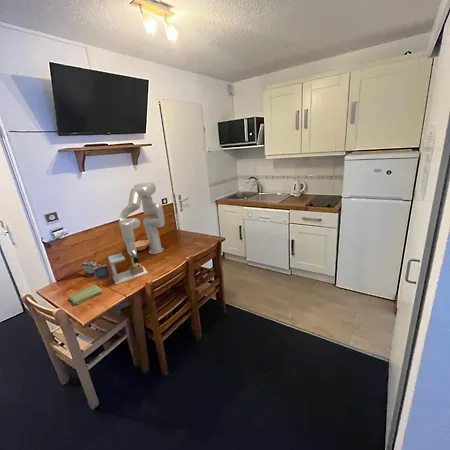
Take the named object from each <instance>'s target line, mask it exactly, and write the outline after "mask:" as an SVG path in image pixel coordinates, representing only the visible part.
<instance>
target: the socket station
mask: <svg viewBox="0 0 450 450" xmlns="http://www.w3.org/2000/svg"><path fill="white" fill-rule="evenodd" d="M107 259H108V261H109V265H110V269H111V272H112V273H111V274H112V279H113V282H114V284H115V285H120V284H122V283H125V282H128V281H130V280H134V279H136V277H137V278H140V277H143V276H145V275H148V274H149V273H148V271H147V270H146V268H145V267H144V265H142V264H141V262H138V268H135V269H133V265H130V266H128V267H129V268H128V270H126V271H125V270H124V271H122V272H120V273H119V272H117V269H116V265H115V264H116V263H121V262H123V261H126V258H125V256H124V255H123V253H122V252H119V253H117V254H112V255H109V256H108V257H107ZM139 276H140V277H139ZM133 278H134V279H133Z"/></svg>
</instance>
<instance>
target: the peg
mask: <svg viewBox="0 0 450 450" xmlns="http://www.w3.org/2000/svg"><path fill="white" fill-rule="evenodd" d="M130 261H131V264H132V265H131V266H133V269H135V268H138V264H139V262H138V263H136V264H134V261H133V256H132V257H130Z"/></svg>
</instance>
